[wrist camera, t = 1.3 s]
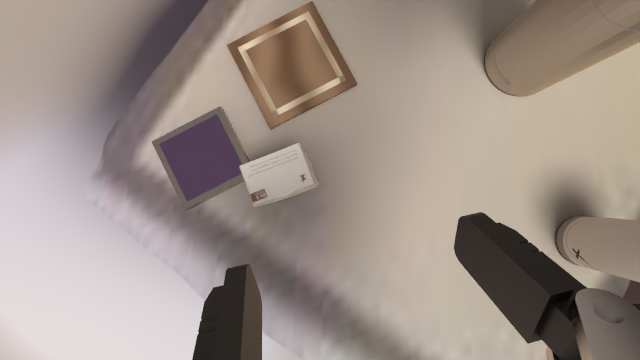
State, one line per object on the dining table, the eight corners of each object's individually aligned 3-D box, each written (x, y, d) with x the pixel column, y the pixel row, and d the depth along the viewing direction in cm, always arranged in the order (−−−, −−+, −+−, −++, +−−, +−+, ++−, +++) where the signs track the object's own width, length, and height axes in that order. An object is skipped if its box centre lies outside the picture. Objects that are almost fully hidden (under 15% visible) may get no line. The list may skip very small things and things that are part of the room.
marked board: (312, 3, 38) (312, 0, 37) (356, 85, 37) (357, 83, 36) (228, 46, 38) (226, 44, 37) (271, 129, 37) (270, 128, 36)
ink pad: (223, 109, 37) (219, 106, 36) (256, 174, 36) (253, 173, 35) (157, 143, 37) (150, 141, 36) (189, 209, 36) (184, 210, 35)
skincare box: (308, 156, 36) (300, 136, 24) (320, 187, 36) (318, 183, 24) (265, 172, 36) (236, 161, 24) (277, 204, 36) (253, 208, 24)
